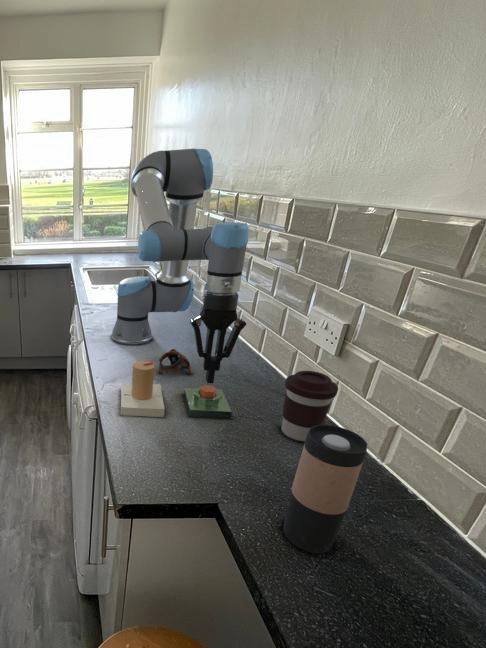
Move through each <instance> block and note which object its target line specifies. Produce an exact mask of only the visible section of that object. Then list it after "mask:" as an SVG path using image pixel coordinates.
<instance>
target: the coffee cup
mask: <svg viewBox="0 0 486 648" xmlns="http://www.w3.org/2000/svg"><path fill="white" fill-rule="evenodd" d="M284 386H285V388H286V391H285V394H284V400H283V407H282V421H281V428H280V429H281V432H282V434H284V435H285V436H286V437H288V438H290V439H292V440H295V441H298V442H305V440H306V437H307V433H308V431H309V429H310V428H311V427H313V426H317V425H324V423H325V420H326V417H327V415H328V412H329V410H330V408H331V405H332V399H334V398H335V397H336V396H337V395H338V393H339V392H338V391H339V386H338V384H336V383H335V382H333V381H332V378H331V377H330V376H328V375H326V374H325V373H322V372H319V371H313V370H300V371H297V372H296V373H293V374H291V375H288V376H287V377H286V378H285V381H284Z"/></svg>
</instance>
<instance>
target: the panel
mask: <svg viewBox="0 0 486 648" xmlns="http://www.w3.org/2000/svg"><path fill="white" fill-rule="evenodd" d="M161 385H162V384H157V383H153V392H152V397H151V398H150V399H147V400H139V399H135V398H134V397H132V395H131V391H132V382H121V387H120V388H121V389H120V390H121V391H120V416H131V417H147V418H148V417H150V418H151V417H152V418H165V410H166V409H165V402H164V398H163V392H162V391H163V390H162V386H161Z"/></svg>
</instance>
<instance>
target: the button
mask: <svg viewBox="0 0 486 648" xmlns="http://www.w3.org/2000/svg"><path fill="white" fill-rule="evenodd" d="M199 388H200V393H199V394H200V395H201V396H204V397H215V395H216V389H217V388H216V387H215V386H213V385H208V384H203V385H201V386H200V387H199Z"/></svg>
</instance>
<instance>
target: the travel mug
mask: <svg viewBox="0 0 486 648" xmlns="http://www.w3.org/2000/svg"><path fill="white" fill-rule="evenodd" d="M367 452H368V442H367V441H366V439H365V438H363V437H362V436H361V435H360V434H358V433H356V432H354V431H352V430H350V429H347V428H343V427H340V426H336V425H330V424H323V425H317V426H313V427H311V428H310V429H309V431H308V433H307V437H306V440H305V441H304V444H303V447H302V452H301V454H300V458H299V462H298V465H297V468H296V472H295V476H294V479H293V483H292V486H291V490H290V495H289V499H288V504H287V507H286V511H285V512H286V513H285V518H284V522H283V528H282V531H283V534H284V536H285V537H286V539H287V540H288V541H289V542H290V543H291V544H292V545H294V546H295V547H297V548H299V549H300V550H303V551H304V552H308V553H311V554H324V553H327V552H329V551H330V550H331V548H332V547H333V544H334V542H335V540H336V537H337V535H338V533H339V530H340V527H341V525H342V522H343V520H344V518H345V516H346V513H347V511H348V508H349V505H350V502H351V499H352V496H353V493H354V490H355V487H356V484H357V481H358V478H359V475H360V473H361V470H362V466H363V464H364V461H365V459H366V455H367Z"/></svg>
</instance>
